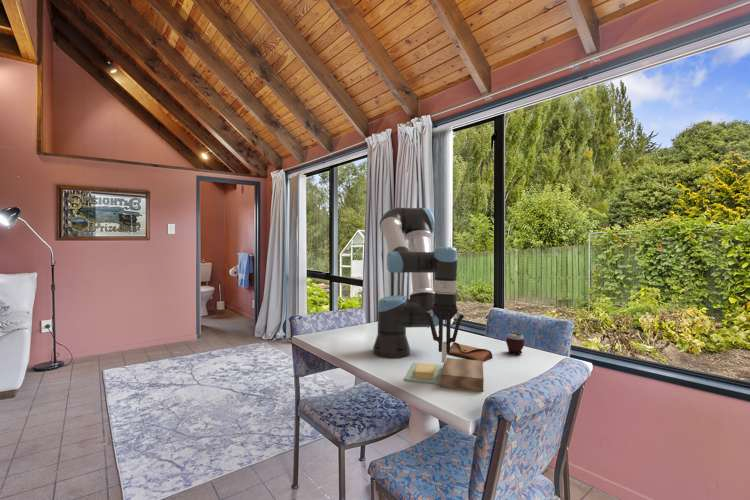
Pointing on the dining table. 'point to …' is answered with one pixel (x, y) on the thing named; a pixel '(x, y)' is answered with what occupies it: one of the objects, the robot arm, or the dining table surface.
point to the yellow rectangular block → (425, 371)
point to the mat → (435, 379)
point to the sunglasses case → (469, 352)
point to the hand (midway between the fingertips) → (444, 361)
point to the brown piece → (462, 374)
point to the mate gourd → (515, 341)
